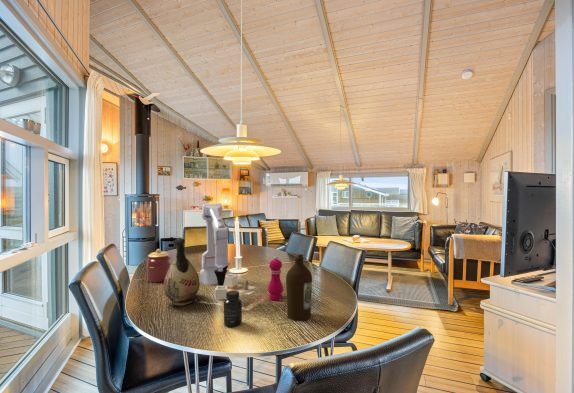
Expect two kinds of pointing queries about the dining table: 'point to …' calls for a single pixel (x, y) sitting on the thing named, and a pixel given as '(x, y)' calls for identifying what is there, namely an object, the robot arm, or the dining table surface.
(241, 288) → the pin board
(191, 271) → the ceramic jug
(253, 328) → the dining table surface
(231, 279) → the seated sleeve
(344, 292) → the dining table surface
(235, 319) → the supplement bottle
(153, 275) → the canister
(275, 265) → the pepper mill
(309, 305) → the olive oil
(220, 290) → the sleeve
